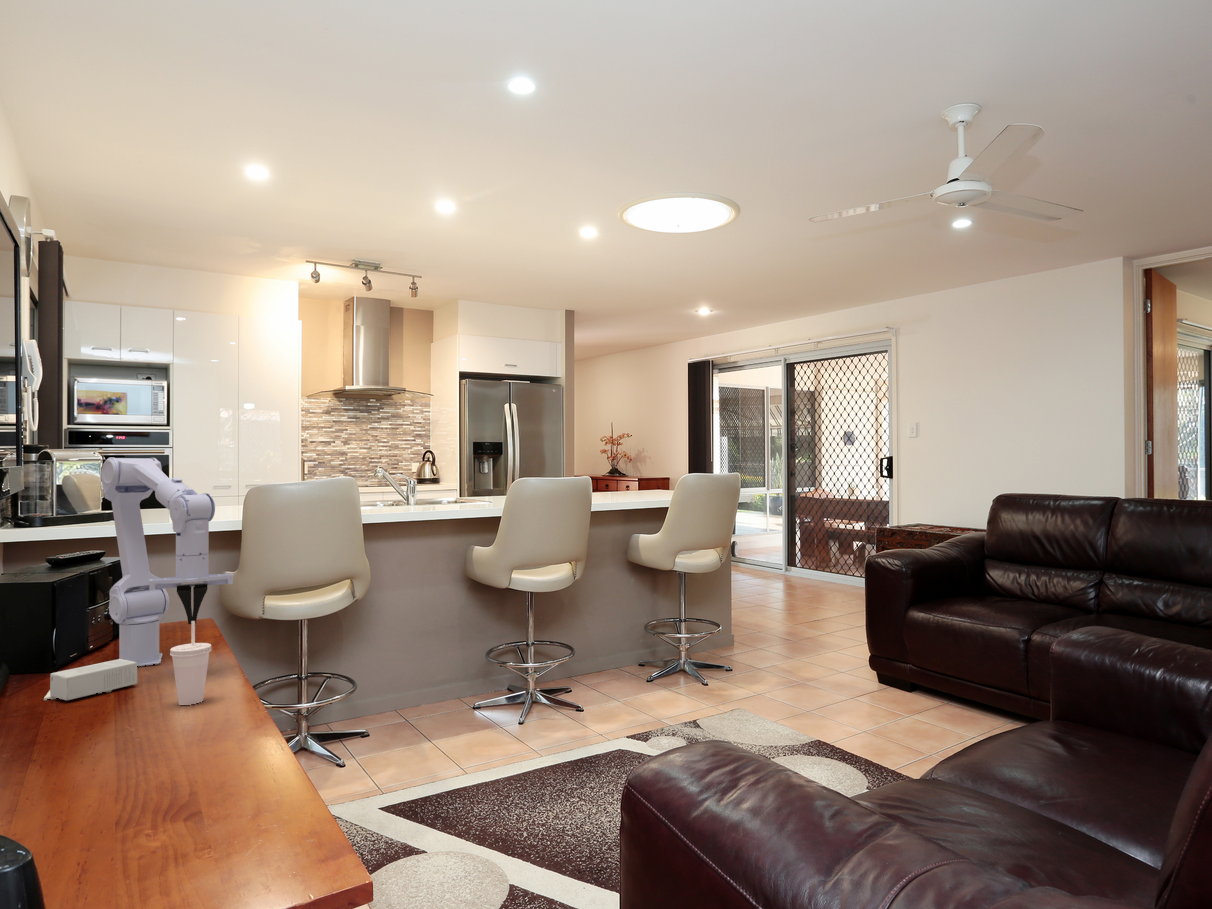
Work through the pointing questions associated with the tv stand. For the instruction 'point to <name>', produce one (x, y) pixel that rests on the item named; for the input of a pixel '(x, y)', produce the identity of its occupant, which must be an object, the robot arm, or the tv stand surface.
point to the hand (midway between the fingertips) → (192, 623)
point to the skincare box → (93, 679)
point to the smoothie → (190, 669)
